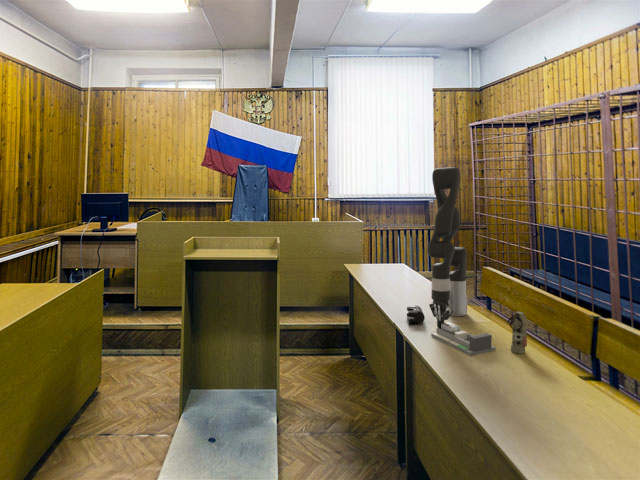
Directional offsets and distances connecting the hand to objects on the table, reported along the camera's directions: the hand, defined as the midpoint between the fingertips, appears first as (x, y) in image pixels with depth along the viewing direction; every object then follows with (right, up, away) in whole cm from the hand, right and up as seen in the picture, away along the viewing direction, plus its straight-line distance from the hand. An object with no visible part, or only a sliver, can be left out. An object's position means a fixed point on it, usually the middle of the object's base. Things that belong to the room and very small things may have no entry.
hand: (440, 328), depth 157 cm
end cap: (-7, -1, +15) cm, 17 cm away
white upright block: (+4, -2, -11) cm, 12 cm away
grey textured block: (+3, -1, -6) cm, 7 cm away
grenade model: (+21, -4, -22) cm, 31 cm away
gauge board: (+5, -3, -11) cm, 13 cm away
